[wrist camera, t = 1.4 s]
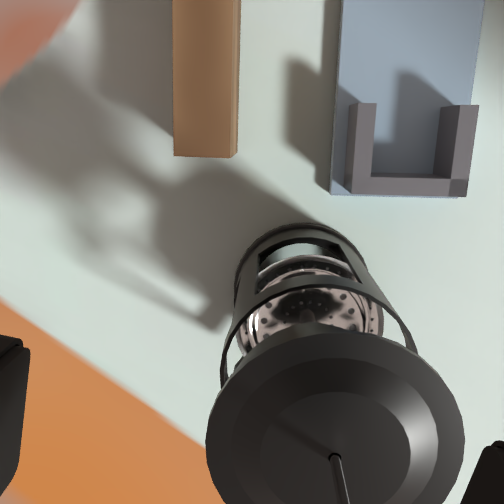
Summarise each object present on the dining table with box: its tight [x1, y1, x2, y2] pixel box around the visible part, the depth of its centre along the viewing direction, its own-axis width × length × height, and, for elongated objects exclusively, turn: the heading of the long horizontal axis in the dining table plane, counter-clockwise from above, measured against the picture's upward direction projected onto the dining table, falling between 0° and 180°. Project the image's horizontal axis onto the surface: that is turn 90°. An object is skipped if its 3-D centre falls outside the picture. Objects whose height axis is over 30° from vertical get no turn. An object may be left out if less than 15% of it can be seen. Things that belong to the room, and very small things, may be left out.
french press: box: [205, 223, 465, 504], centre depth 21 cm, size 12×9×23 cm
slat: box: [172, 0, 241, 158], centre depth 25 cm, size 3×16×6 cm, turn 178°
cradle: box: [329, 0, 485, 198], centre depth 26 cm, size 8×21×4 cm, turn 179°
